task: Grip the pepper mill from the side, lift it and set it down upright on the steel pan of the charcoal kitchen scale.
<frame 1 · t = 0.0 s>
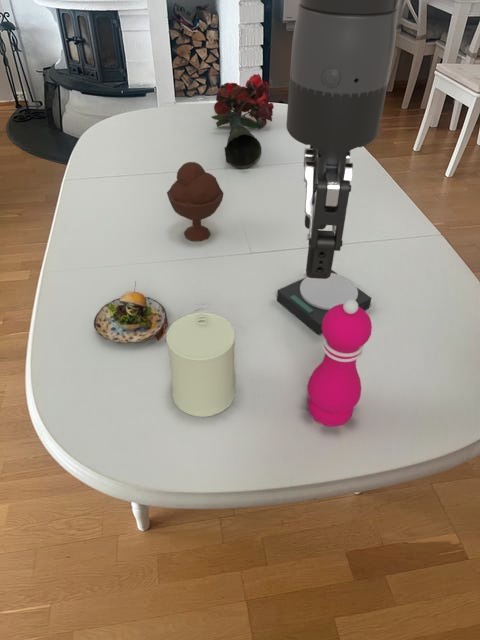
hand: (316, 250, 51), 30 cm above the table, tool pointing down, fingers open, 8 cm apart
can: (203, 392, 76), on the table
pepper mill: (329, 410, 74), on the table
kitchen scale: (322, 304, 91), on the table
burger: (132, 326, 87), on the table
red flower bouquet: (244, 142, 144), on the table
ice cream bowl: (197, 235, 108), on the table
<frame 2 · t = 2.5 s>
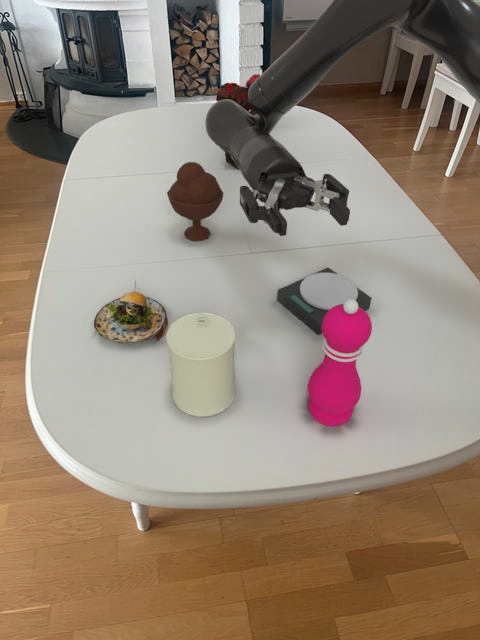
hand: (315, 224, 66), 24 cm above the table, tool horizontal, fingers open, 8 cm apart
nothing on the table moved.
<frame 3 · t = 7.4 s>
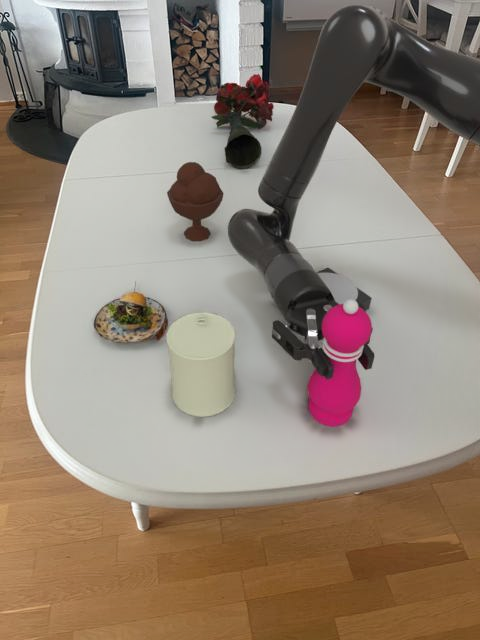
hand: (350, 369, 65), 11 cm above the table, tool horizontal, fingers closed on pepper mill, 5 cm apart
pepper mill: (329, 410, 74), on the table, touching gripper
everything else where it was.
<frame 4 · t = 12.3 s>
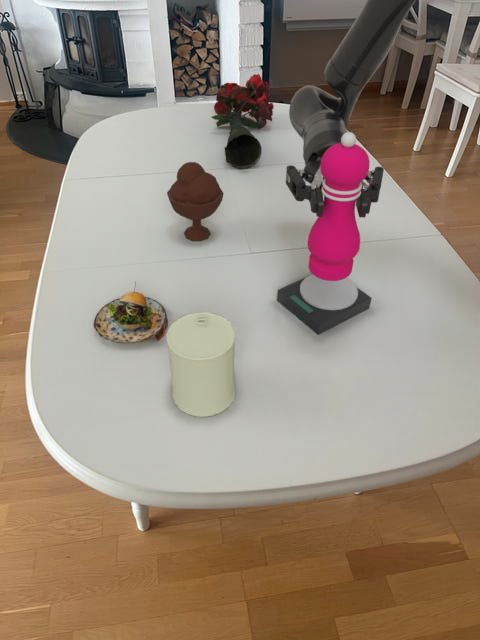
hand: (342, 210, 66), 25 cm above the table, tool horizontal, fingers closed on pepper mill, 5 cm apart
pepper mill: (329, 269, 75), point 14 cm above the table, touching gripper
everything else where it was.
when the fingers open (14 cm above the table, at t = 17.3 s): pepper mill stays where it is, resting on kitchen scale.
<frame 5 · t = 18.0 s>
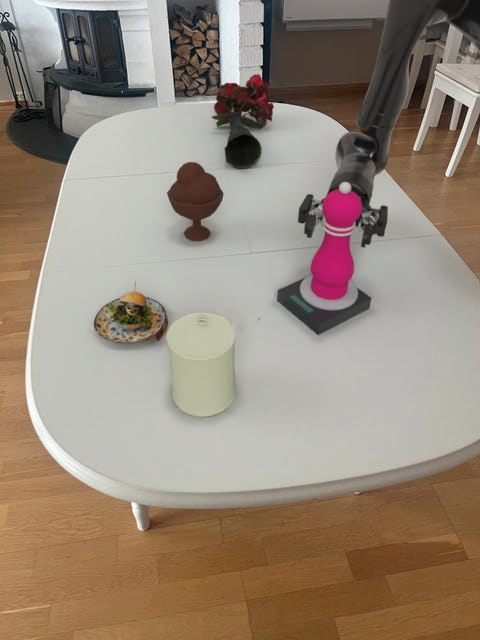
hand: (336, 237, 81), 15 cm above the table, tool horizontal, fingers open, 8 cm apart
pepper mill: (328, 289, 90), point 3 cm above the table, touching kitchen scale
everything else where it was.
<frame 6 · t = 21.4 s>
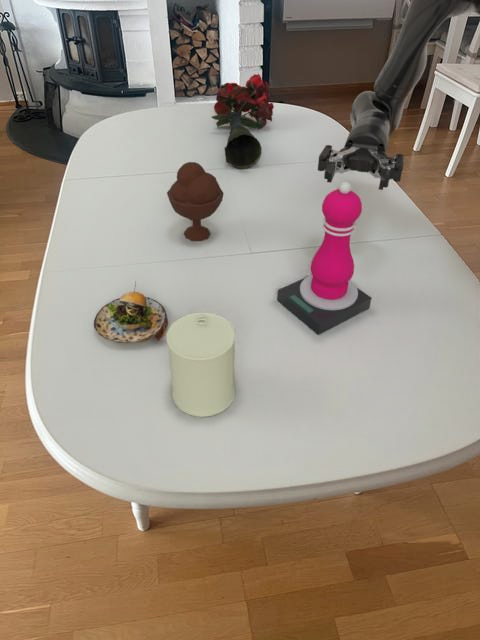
hand: (355, 180, 85), 19 cm above the table, tool horizontal, fingers open, 8 cm apart
nothing on the table moved.
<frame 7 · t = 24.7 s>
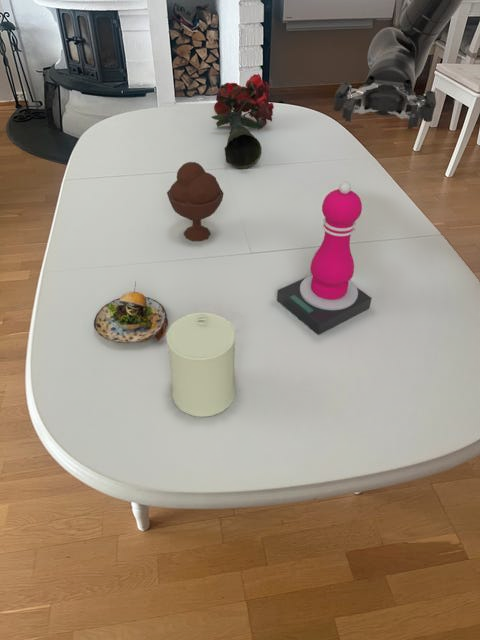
hand: (379, 118, 72), 32 cm above the table, tool horizontal, fingers open, 8 cm apart
nothing on the table moved.
at the end: pepper mill inside the target area on the kitchen scale (0.1 cm from its centre), point 2.7 cm above the kitchen scale's base; pepper mill tilted 0°; the gripper is holding nothing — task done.
